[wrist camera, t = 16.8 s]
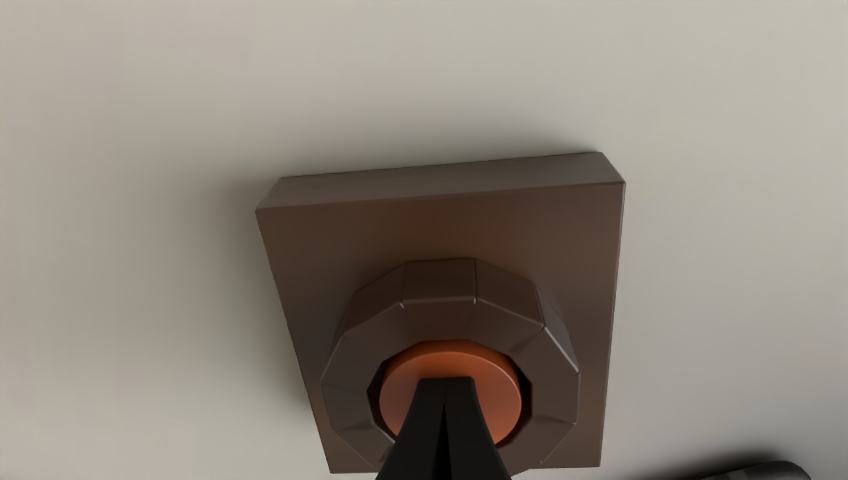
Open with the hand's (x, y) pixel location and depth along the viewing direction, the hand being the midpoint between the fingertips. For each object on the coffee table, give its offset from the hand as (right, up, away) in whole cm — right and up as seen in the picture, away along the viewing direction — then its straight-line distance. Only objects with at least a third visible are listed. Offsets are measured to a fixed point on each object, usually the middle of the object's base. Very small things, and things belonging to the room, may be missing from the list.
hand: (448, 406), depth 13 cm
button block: (0, +2, +4) cm, 4 cm away
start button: (0, +1, +2) cm, 2 cm away
